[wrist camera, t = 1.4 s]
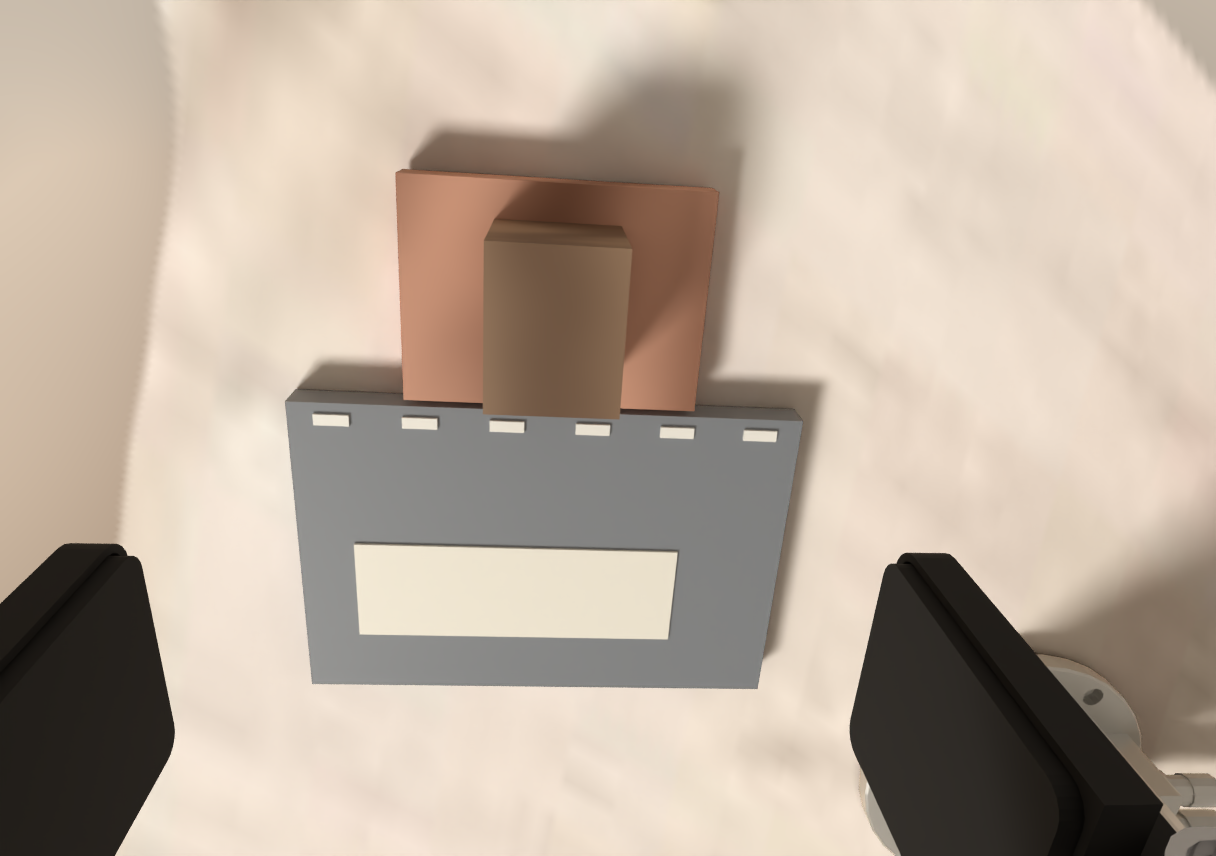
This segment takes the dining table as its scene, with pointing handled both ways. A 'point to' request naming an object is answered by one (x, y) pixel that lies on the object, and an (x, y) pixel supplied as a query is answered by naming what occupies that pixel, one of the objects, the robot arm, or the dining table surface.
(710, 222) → the wooden t-shaped block
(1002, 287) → the dining table surface
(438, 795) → the dining table surface
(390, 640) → the board
